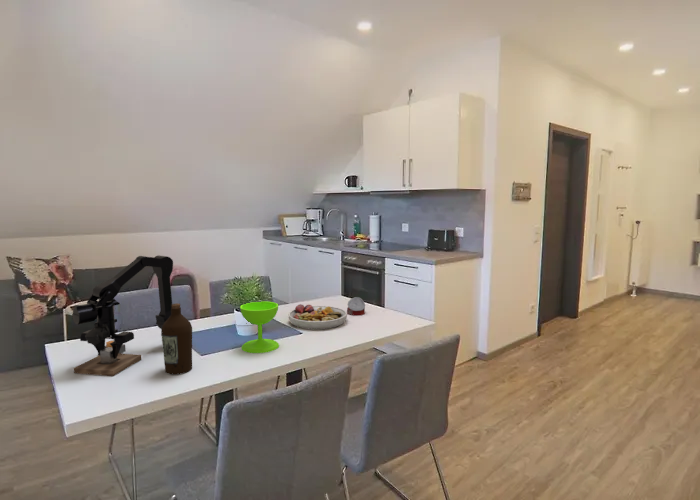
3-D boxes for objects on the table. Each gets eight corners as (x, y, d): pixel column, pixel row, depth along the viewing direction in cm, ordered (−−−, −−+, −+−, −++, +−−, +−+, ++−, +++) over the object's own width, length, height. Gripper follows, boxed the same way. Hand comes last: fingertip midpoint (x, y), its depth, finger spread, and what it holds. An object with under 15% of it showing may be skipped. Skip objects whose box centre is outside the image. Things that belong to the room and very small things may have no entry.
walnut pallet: (141, 359, 170) (141, 354, 170) (113, 376, 155) (113, 370, 154) (105, 357, 173) (104, 352, 173) (74, 373, 157) (73, 368, 157)
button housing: (125, 351, 180) (125, 344, 179) (114, 357, 173) (113, 350, 172) (110, 350, 181) (110, 343, 180) (98, 356, 174) (97, 349, 173)
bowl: (357, 320, 227) (357, 305, 226) (324, 335, 202) (324, 319, 201) (312, 312, 243) (312, 298, 242) (276, 325, 218) (276, 310, 217)
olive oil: (178, 362, 167) (175, 299, 164) (200, 366, 163) (197, 302, 160) (156, 373, 157) (153, 306, 154) (179, 377, 154) (176, 309, 151)
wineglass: (233, 350, 181) (232, 308, 179) (254, 338, 196) (253, 300, 194) (266, 355, 175) (265, 312, 173) (285, 342, 190) (285, 303, 188)
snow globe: (364, 320, 242) (372, 306, 239) (354, 322, 234) (363, 307, 231) (349, 308, 247) (357, 294, 244) (339, 310, 239) (347, 295, 236)
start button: (119, 347, 178) (118, 340, 178) (112, 350, 174) (112, 343, 174) (110, 346, 179) (110, 340, 178) (104, 349, 175) (103, 343, 175)
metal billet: (117, 363, 165) (117, 348, 165) (110, 367, 161) (109, 351, 161) (108, 362, 166) (107, 347, 165) (100, 365, 162) (100, 350, 161)
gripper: (66, 323, 155) (70, 364, 157) (113, 325, 152) (116, 367, 154) (89, 314, 166) (92, 353, 168) (133, 317, 163) (136, 356, 165)
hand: (108, 358), depth 163 cm, fingers open, 5 cm apart
